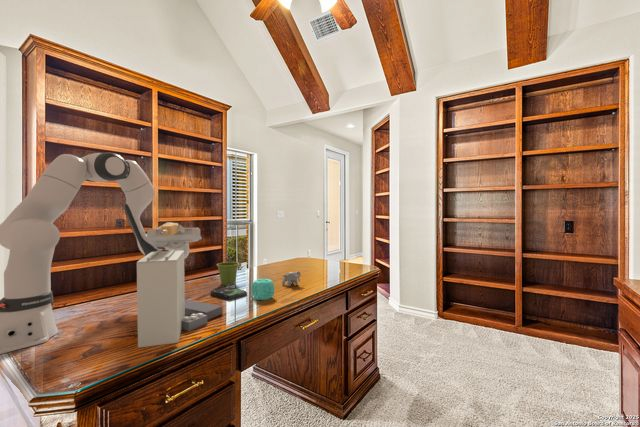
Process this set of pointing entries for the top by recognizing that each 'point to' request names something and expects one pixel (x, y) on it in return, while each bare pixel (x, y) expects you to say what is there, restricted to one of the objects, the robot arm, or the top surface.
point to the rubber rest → (202, 309)
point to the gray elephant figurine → (291, 278)
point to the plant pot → (228, 272)
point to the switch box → (194, 321)
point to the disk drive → (228, 293)
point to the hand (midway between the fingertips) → (172, 226)
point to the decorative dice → (263, 289)
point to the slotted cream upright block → (160, 297)
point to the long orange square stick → (169, 229)
